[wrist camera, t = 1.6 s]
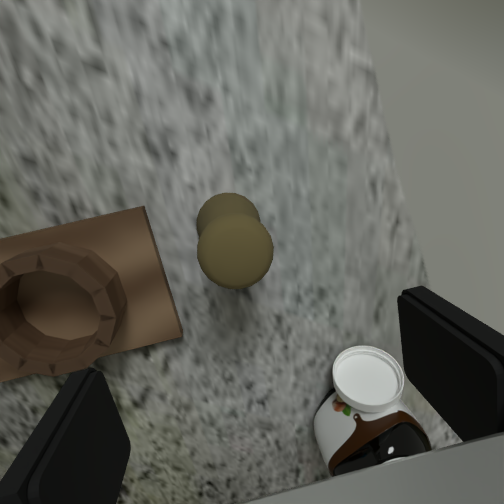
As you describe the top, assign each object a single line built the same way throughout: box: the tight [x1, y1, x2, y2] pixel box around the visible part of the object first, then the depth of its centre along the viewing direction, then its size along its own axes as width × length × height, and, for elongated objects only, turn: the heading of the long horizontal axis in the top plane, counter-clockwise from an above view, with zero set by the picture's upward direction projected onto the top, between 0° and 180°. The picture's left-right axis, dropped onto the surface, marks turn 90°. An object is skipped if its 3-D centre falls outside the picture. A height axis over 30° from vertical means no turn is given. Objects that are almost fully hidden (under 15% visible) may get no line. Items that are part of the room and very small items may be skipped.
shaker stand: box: [0, 206, 183, 382], centre depth 30 cm, size 13×18×5 cm
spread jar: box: [314, 346, 432, 477], centre depth 33 cm, size 12×11×12 cm
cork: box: [197, 193, 274, 289], centre depth 27 cm, size 6×6×11 cm
